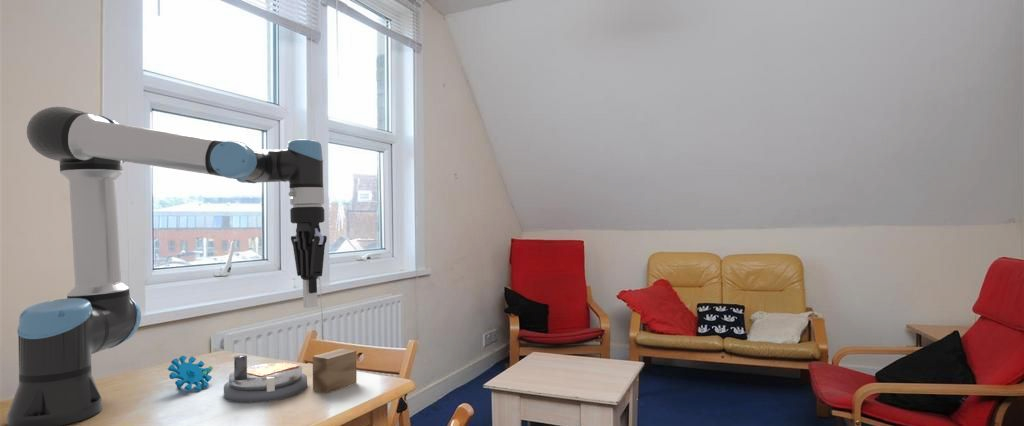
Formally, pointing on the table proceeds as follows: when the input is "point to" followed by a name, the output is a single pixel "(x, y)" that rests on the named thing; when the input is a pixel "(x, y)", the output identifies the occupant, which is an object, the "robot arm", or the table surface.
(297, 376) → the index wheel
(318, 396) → the table surface
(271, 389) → the wheel base
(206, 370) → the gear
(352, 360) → the link block
